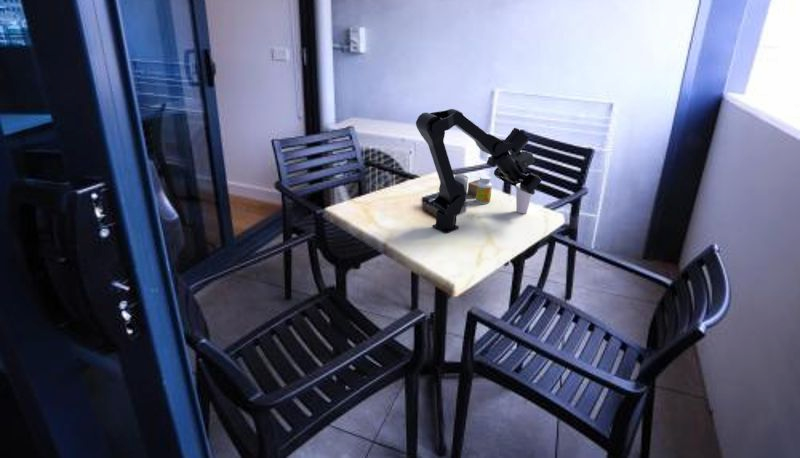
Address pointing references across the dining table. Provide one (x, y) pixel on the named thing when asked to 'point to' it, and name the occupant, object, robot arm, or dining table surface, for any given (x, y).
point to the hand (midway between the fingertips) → (527, 190)
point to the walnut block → (472, 188)
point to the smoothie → (522, 199)
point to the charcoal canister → (462, 181)
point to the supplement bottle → (484, 190)
